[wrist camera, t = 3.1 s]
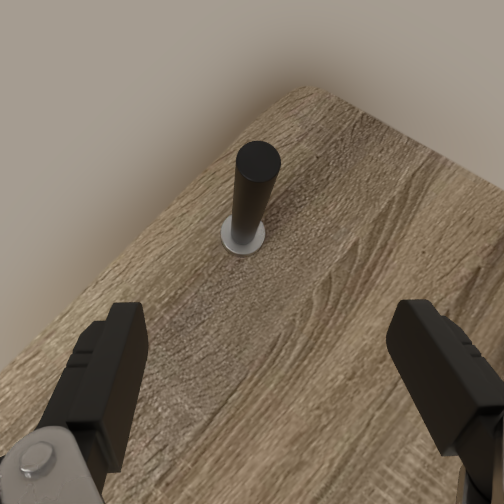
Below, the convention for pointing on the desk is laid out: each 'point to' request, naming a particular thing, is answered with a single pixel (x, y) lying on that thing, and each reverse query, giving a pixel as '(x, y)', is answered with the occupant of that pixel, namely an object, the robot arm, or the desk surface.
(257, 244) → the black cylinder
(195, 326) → the desk surface
